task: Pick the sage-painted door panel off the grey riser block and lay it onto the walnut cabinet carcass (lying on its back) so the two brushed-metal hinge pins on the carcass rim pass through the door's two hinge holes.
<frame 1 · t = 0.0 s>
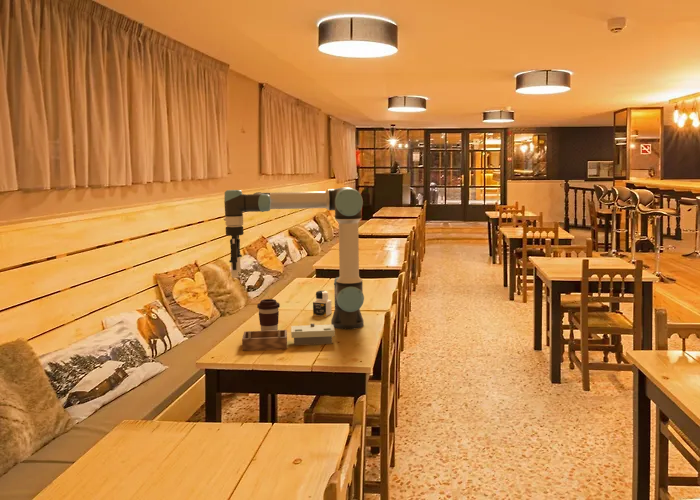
hand: (236, 274, 278), 28 cm above the table, fingers open, 13 cm apart
carcass: (265, 345, 268), on the table
coffee cup: (269, 333, 289), on the table
riser: (313, 343, 271), on the table
medicine bottle: (322, 315, 322), on the table
door: (312, 333, 271), point 4 cm above the table, touching riser
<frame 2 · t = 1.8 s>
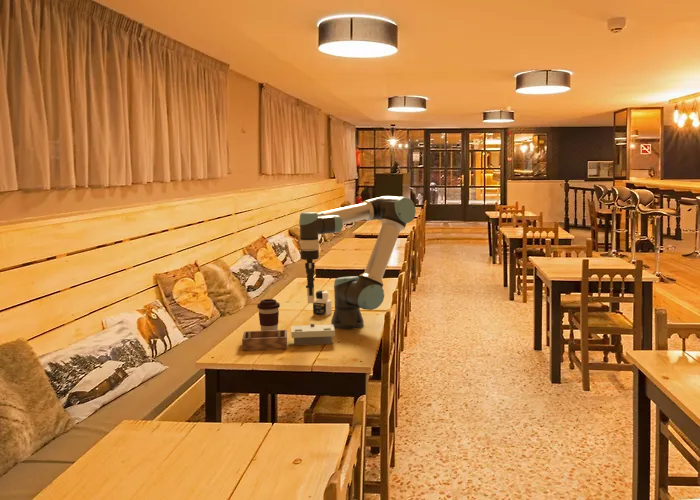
hand: (310, 299, 269), 19 cm above the table, fingers open, 13 cm apart
nothing on the table moved.
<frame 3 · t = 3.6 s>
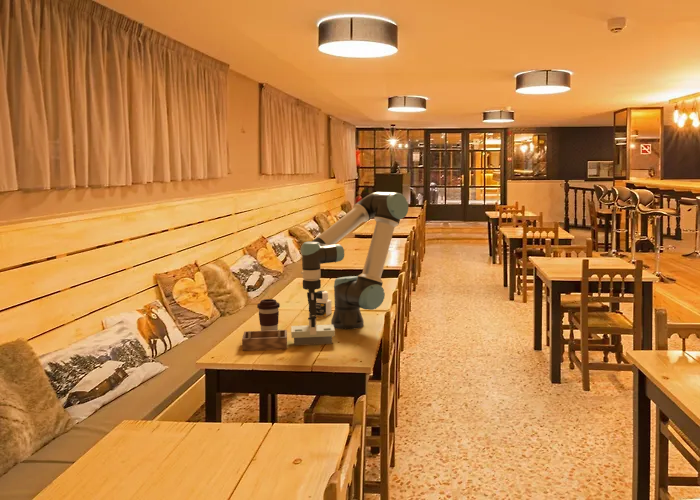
hand: (312, 331, 271), 5 cm above the table, fingers closed on door, 10 cm apart
door: (312, 333, 271), point 4 cm above the table, touching gripper, riser
everything else where it was.
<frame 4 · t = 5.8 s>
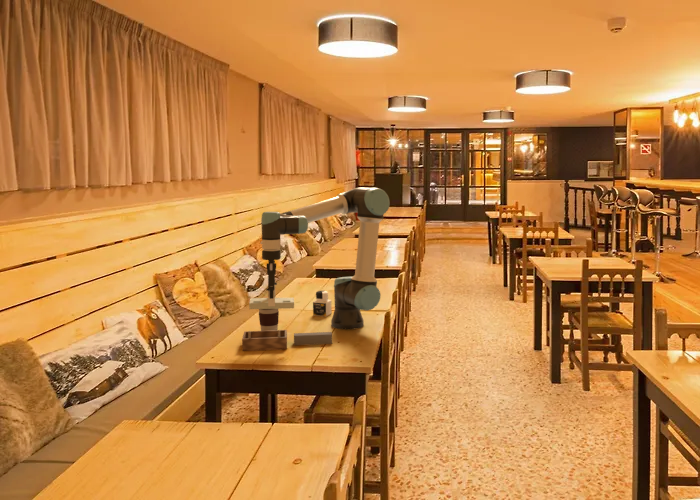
hand: (271, 303, 264), 19 cm above the table, fingers closed on door, 10 cm apart
door: (272, 306, 264), point 17 cm above the table, touching gripper
everything else where it was.
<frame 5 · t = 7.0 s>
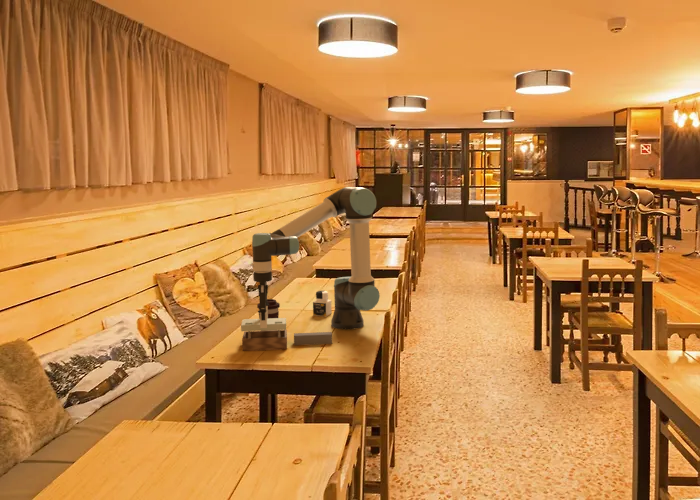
hand: (264, 324, 264), 10 cm above the table, fingers closed on door, 10 cm apart
door: (264, 327, 264), point 9 cm above the table, touching gripper
everything else where it was.
when the fingers open (7 cm above the table, at t = 8.0 s): door stays where it is, resting on carcass.
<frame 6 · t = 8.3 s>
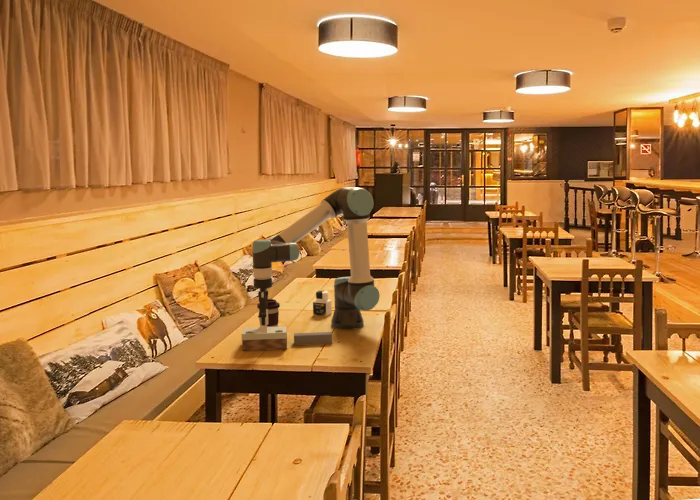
hand: (264, 328, 264), 8 cm above the table, fingers open, 13 cm apart
door: (264, 336, 265), point 5 cm above the table, touching carcass
everything else where it was.
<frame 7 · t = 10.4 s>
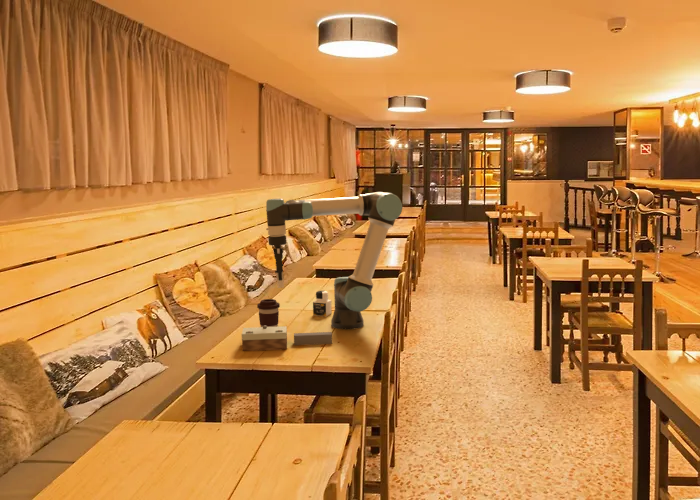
hand: (280, 284, 274), 24 cm above the table, fingers open, 13 cm apart
nothing on the table moved.
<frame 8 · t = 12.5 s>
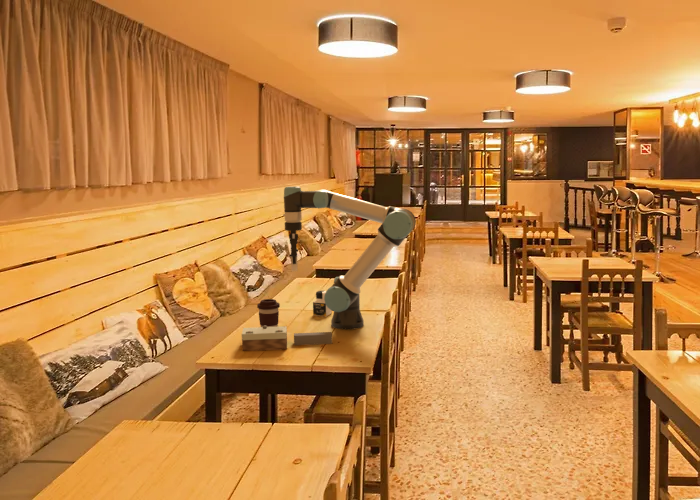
hand: (294, 268, 288), 29 cm above the table, fingers open, 13 cm apart
nothing on the table moved.
at the end: door 0.0 cm from the target spot on the carcass, point 5.0 cm above the carcass's base; door tilted 0°; the gripper is holding nothing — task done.
